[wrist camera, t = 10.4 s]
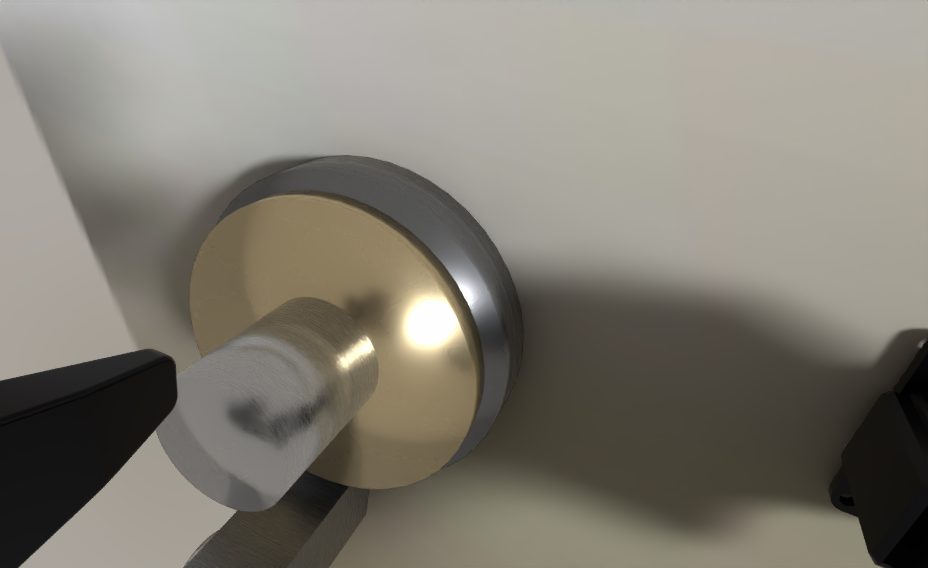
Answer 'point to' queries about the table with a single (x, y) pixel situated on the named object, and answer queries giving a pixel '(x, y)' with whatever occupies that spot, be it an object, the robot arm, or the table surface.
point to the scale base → (493, 307)
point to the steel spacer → (269, 402)
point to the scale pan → (371, 305)
